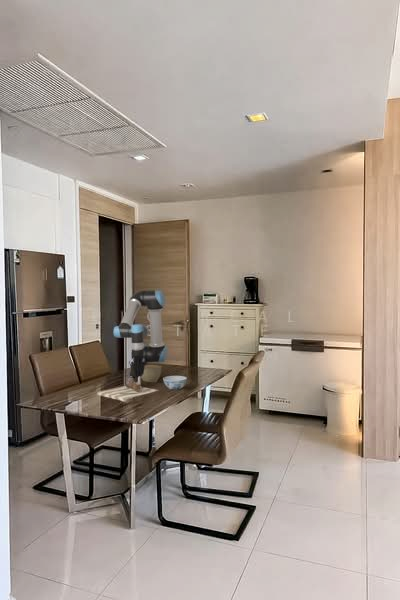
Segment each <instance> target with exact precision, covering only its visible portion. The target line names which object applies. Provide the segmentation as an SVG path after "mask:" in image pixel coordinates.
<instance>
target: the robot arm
mask: <svg viewBox="0 0 400 600" xmlns="http://www.w3.org/2000/svg"><path fill="white" fill-rule="evenodd" d="M165 306H166V297H165V293H164V292H163V291H162V290H160V289H159V290H158V289H157V290H156V289H153V290H149V289H147V290H139V291H137V292H135V293H134V294H132V295H131V297H130V298H129V300H128V302H127V308H126V310H125V312H124V315H123V317H122V319H121V322H120V324H119V325H116V326H114V327H113V337H115V338H120V339H126V338H127V339H130V338H131V339H130V340H131V343H130V344H131V357H130V358H131V360H130V361H128V364H129V366H130V370H129V374H128V376H129V375H130V376H132V377H135V378H134V381H135V382H137V383H140V384H141V381H142V378H141V376H142V375H143V374H144V368H145V365H148V363H164V362H166V359H167V357H168V346H165V345H166V344H165V343H164V341H163V329H162V328H163V325H162V310H163V309H164V307H165ZM141 307H146V310H147V311H148V312H149V328H148V326H146V325H143V324H142V323H139V324H136V323H135V324H133V323H134V321H135V318H136V316H137V314H138V311H139V310H140V309H141ZM149 329H150V330H149ZM149 333H150V343H149V345H148V344H144V338H146V337H147V336H148V335H149Z"/></svg>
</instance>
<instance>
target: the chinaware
mask: <svg viewBox="0 0 400 600" xmlns="http://www.w3.org/2000/svg"><path fill="white" fill-rule="evenodd" d="M162 379H163V384H164V385H165V387H166V388H167V389H169V390H179V389H180V390H181V389H182V388H183V387H185V384H186V382H187V379H188V378H187V376H183V375H169V376H168V375H167V376H164V377H163V378H162Z"/></svg>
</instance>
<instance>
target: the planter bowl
mask: <svg viewBox="0 0 400 600" xmlns="http://www.w3.org/2000/svg"><path fill="white" fill-rule="evenodd" d="M162 368H163V367H162V365H157V364H147V365H145V368H144V374H143V375H142V376H141V381H143V382H147V383H148V382H149V383H151V382H152V383H157V382H158V380H159V378H160V376H161V373H162Z"/></svg>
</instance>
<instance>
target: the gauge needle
mask: <svg viewBox="0 0 400 600" xmlns="http://www.w3.org/2000/svg"><path fill="white" fill-rule="evenodd" d="M125 386H126V387H130V388H132V389H134V390H135V391H137V392H139V391H140V386H141V382H140V383H137V382H135V379H134V378H133V377H129V376H126V377H125Z"/></svg>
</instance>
